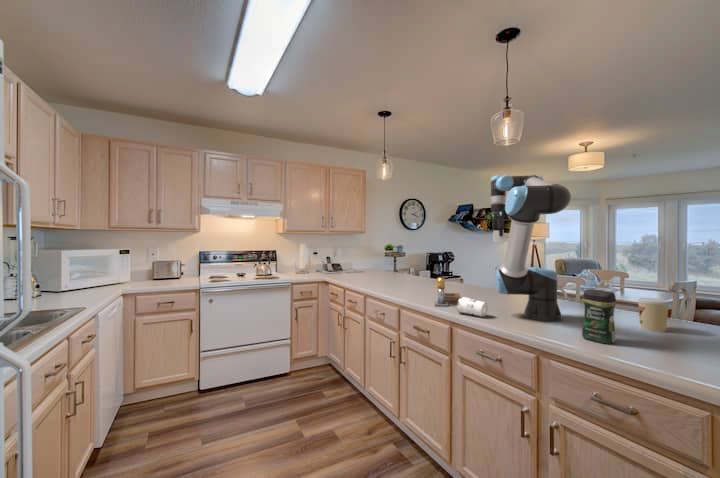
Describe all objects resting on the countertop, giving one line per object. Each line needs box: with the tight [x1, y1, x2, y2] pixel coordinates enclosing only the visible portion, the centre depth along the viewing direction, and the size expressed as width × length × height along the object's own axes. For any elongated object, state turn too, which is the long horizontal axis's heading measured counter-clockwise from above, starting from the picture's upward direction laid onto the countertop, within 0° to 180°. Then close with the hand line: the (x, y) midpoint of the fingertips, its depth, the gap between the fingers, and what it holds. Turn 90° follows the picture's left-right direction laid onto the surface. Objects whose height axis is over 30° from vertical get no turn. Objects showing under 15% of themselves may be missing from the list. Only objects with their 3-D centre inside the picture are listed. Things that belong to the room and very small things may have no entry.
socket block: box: [444, 292, 461, 305], centre depth 184 cm, size 11×11×4 cm
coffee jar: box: [581, 288, 617, 344], centre depth 117 cm, size 10×8×19 cm
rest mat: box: [434, 301, 449, 308], centre depth 176 cm, size 7×7×1 cm
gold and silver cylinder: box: [436, 277, 446, 304], centre depth 175 cm, size 4×4×14 cm
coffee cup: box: [637, 297, 670, 333], centre depth 130 cm, size 9×9×12 cm
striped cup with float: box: [456, 295, 489, 318], centre depth 154 cm, size 10×8×12 cm
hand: (498, 242), depth 176 cm, fingers open, 13 cm apart
